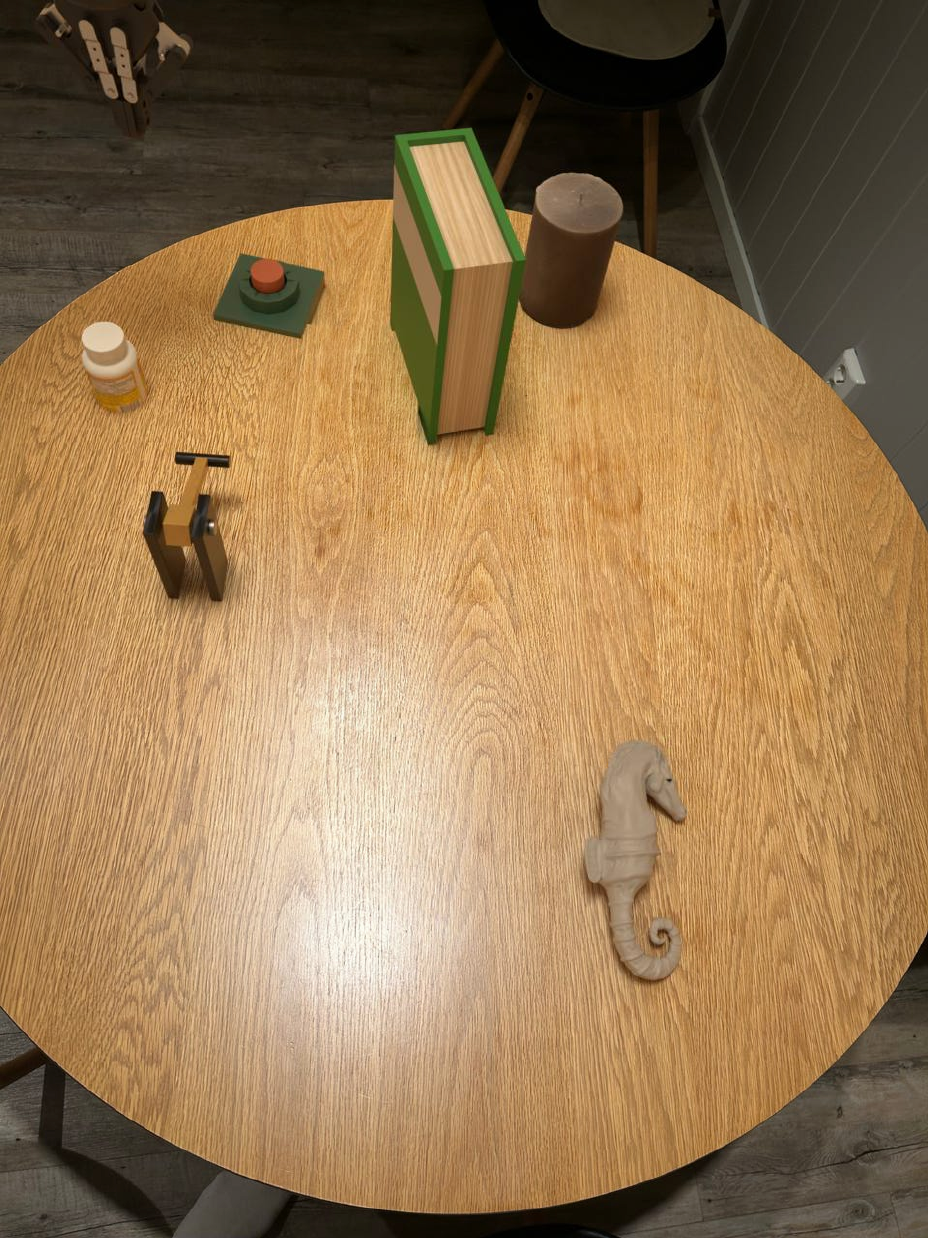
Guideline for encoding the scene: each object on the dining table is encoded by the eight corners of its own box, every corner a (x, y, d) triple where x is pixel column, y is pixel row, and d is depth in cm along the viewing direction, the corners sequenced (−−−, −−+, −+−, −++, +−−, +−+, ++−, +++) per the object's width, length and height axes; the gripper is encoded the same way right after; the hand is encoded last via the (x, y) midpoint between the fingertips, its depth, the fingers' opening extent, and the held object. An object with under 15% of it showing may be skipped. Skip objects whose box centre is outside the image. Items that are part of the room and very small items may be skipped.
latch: (178, 464, 89) (175, 443, 88) (231, 468, 90) (229, 447, 88) (149, 544, 81) (145, 522, 79) (208, 548, 81) (205, 526, 79)
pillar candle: (589, 336, 110) (619, 232, 97) (509, 316, 111) (528, 210, 97) (603, 279, 115) (633, 172, 102) (525, 260, 115) (546, 151, 102)
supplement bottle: (136, 427, 99) (114, 364, 90) (89, 412, 99) (63, 347, 90) (159, 390, 101) (140, 325, 93) (113, 375, 101) (90, 309, 93)
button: (248, 290, 104) (246, 278, 102) (257, 267, 106) (255, 255, 104) (279, 297, 104) (278, 285, 102) (288, 274, 106) (287, 262, 104)
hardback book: (493, 434, 102) (526, 259, 81) (428, 444, 101) (443, 270, 80) (451, 315, 110) (471, 127, 89) (390, 324, 108) (395, 135, 87)
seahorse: (739, 964, 78) (684, 730, 84) (629, 990, 73) (578, 738, 79) (699, 966, 82) (649, 743, 88) (592, 991, 77) (546, 751, 83)
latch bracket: (167, 540, 93) (139, 462, 82) (249, 545, 93) (232, 469, 82) (149, 630, 88) (117, 561, 77) (235, 635, 89) (216, 567, 78)
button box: (215, 328, 106) (210, 302, 102) (242, 267, 110) (238, 240, 107) (301, 347, 106) (299, 321, 102) (325, 285, 110) (323, 258, 107)
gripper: (-22, -77, 67) (46, 141, 82) (160, -35, 67) (194, 175, 83) (21, -129, 71) (79, 90, 86) (193, -89, 71) (220, 123, 86)
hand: (135, 132), depth 84 cm, fingers closed
